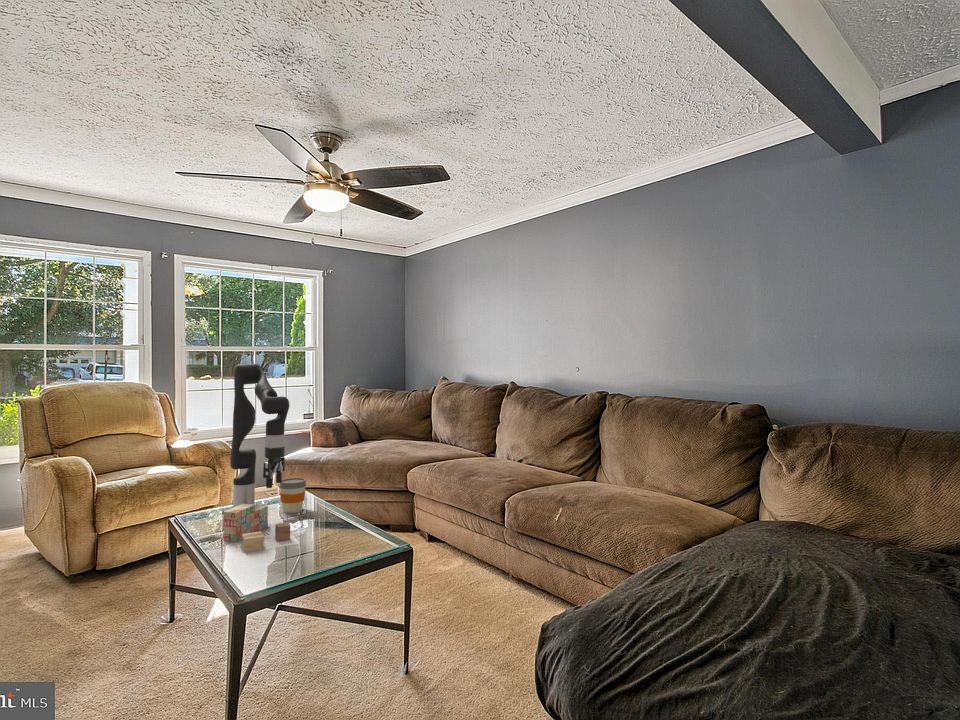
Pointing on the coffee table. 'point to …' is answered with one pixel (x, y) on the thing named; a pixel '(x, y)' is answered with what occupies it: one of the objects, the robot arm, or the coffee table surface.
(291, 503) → the reusable coffee cup
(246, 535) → the oak block
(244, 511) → the stack of blocks
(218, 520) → the coffee table surface
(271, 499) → the coffee table surface
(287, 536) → the walnut block
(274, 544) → the white board
